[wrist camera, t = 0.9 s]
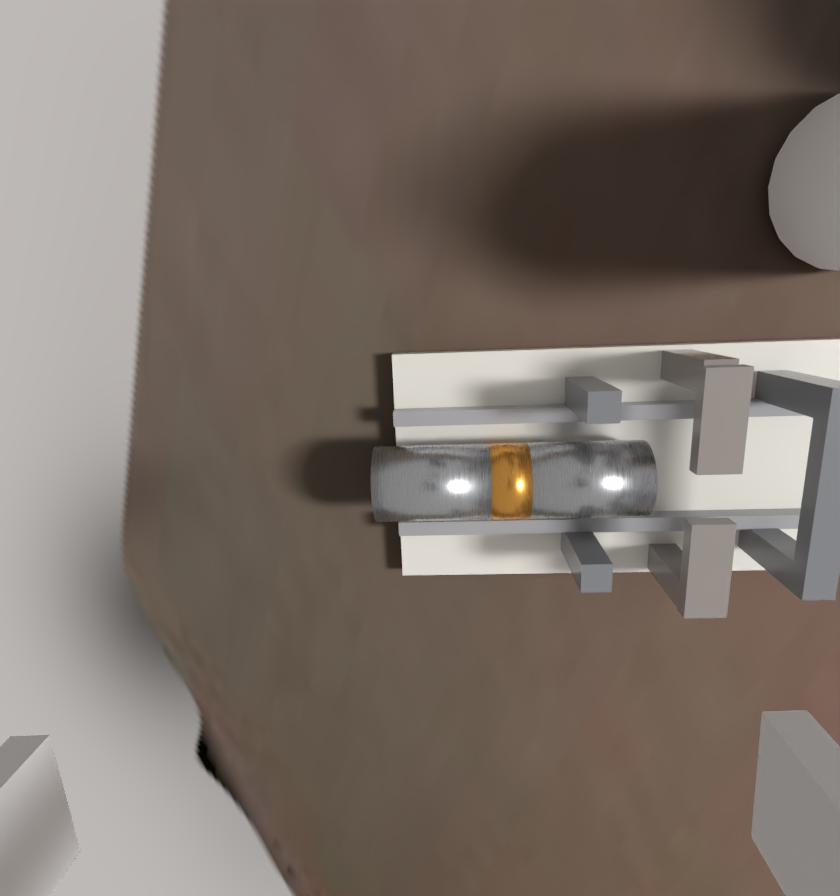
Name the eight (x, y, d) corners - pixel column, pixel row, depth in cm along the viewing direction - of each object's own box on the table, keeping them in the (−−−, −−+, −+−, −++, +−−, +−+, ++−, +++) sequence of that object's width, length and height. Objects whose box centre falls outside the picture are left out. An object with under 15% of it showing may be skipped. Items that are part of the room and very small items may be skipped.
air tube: (381, 503, 33) (373, 535, 29) (377, 437, 32) (368, 461, 28) (628, 498, 32) (653, 530, 28) (634, 430, 31) (661, 453, 27)
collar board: (393, 352, 31) (379, 367, 25) (842, 337, 30) (957, 348, 23) (403, 567, 35) (393, 632, 28) (809, 561, 33) (901, 627, 27)
